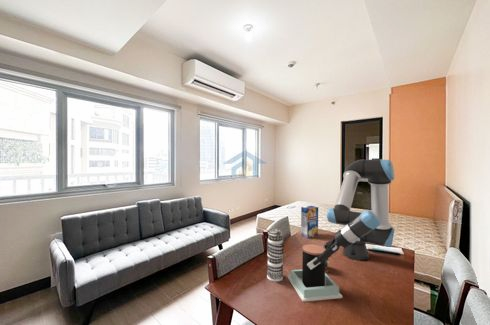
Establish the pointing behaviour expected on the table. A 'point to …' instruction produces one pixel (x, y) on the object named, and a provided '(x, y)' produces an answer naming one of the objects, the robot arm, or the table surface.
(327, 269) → the binoculars
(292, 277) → the pocket tray
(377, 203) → the robot arm
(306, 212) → the juice carton
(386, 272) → the table surface
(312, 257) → the coffee jar
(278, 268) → the decorative candle
